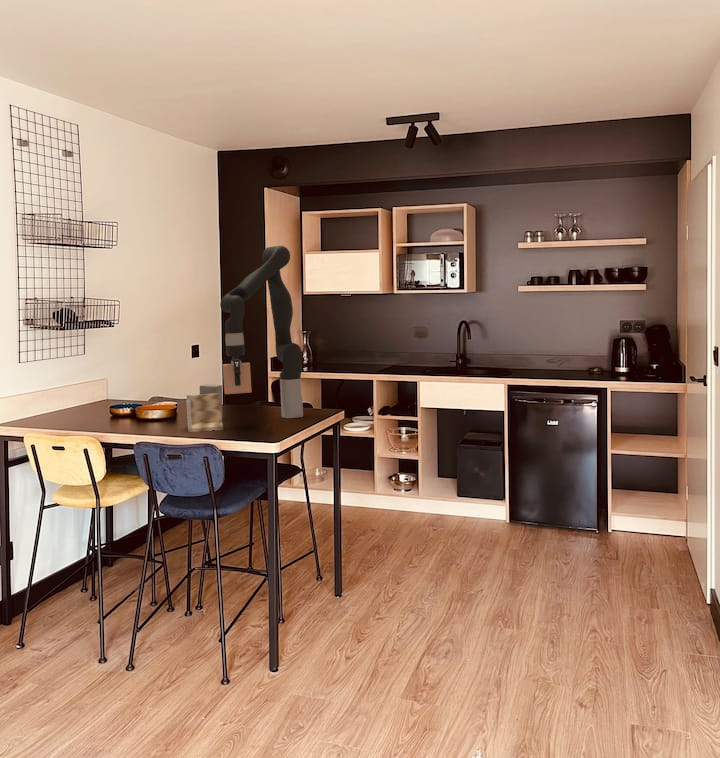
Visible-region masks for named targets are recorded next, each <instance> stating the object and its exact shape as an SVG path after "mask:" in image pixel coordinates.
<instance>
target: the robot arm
mask: <svg viewBox="0 0 720 758" xmlns="http://www.w3.org/2000/svg"><path fill="white" fill-rule="evenodd" d="M290 260H291V253H290V250H289V249H288V248H287V247H286V246H284V245H276V246H275V245H274V246H268V247H266V248H265V249H264V250H263V253H262V263H263V264H262V265H261V266H260V267H259V268H257V269H256V270H254V271H253V272H251V273H250V274H248V275H247V276H246V277H245V278H244V279H243V280H242V281H240V283H239V284H238V285H237V286H236V287H235V288H232V290H230V291H229V292H227V293H226V294H225V295H224V296H223V297H222V298H221V301H220V308H221V310H222V311H223V312H225V313H228V314H229V318H227V319H226V320H225V322H224V323H225V325H224V326H225V327H224V329H225V352H226V356H227V357H232V359H231V360H230V362H231V363H230V364H232V367H233V371H234V377H235V385H236V386H239V385H241V383H240V375H241V373H240V371H241V363H242V360H241V359H240V356H244V355H245V354H246V353H245V352H246V351H245V339H244V338H245V337H244V331H243V329H244V328H243V320H244V315H245V309H246V308H245V307H246V305H245V301H247V300H249V299H250V298H251V297H252V296H253V295H254V294H255V293H256V292H257V291H258V290H259V289H260V288H261V287H262V286H263V285H264V284H265V283H267V286H268V292H269V299H270V305H271V306H270V308H271V314H272V315H271V316H272V322H273V328H274V336H275V341H274V342H275V355H276V358H277V359H278V360H279V361H280V362H281V363H282V370H281V371H280V372H279V387H280V388H279V389H280V405H281V406H280V407H281V408H280V409H281V410H280V411H281V412H280V413H281V418H284V419H296V418H297V419H298V418H303V417H304V407H303V406H304V405H303V402H304V401H303V395H302V379H301V378H302V377H301V376H302V373H303V352H302V348H301V347H300V345H299V344H297V343H295V342H292V341H293V340H292V336H291V326H292V320H293V315H294V314H293V313H294V310H293V303H292V302H293V301H292V296H291V294H290V292H289V290H288V288H287V287H286V285H285V283H284V281H283V279H282V276H281V275H282V274H281V270H282V269H283V268H284V267H286V266H287V265H288V264H289V262H290ZM236 371H239V372H238V373H236Z"/></svg>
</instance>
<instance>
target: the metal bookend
mask: <svg viewBox="0 0 720 758" xmlns="http://www.w3.org/2000/svg"><path fill="white" fill-rule="evenodd" d="M185 401H186V413H187V414H186V416H187V417H186V418H187V430H188V429H192V415H191V398H187V397H186V400H185Z"/></svg>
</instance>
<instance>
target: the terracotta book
mask: <svg viewBox="0 0 720 758" xmlns="http://www.w3.org/2000/svg"><path fill="white" fill-rule="evenodd" d="M238 372H239V371H236V373H238ZM222 373H223V391H224V395H232V394H233V395H234V394H235V395H236V394H246V393H247V394H248V393H252V377H251V375H252V374H251V363H250V362H241V371H240V373H241V375H240V383H241V385H239V386H236V385H235V377H234V371H233V367H232V364H231V363H224V364H222Z"/></svg>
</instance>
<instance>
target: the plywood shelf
mask: <svg viewBox="0 0 720 758" xmlns="http://www.w3.org/2000/svg"><path fill="white" fill-rule="evenodd" d="M187 398H191V415H192V429H188V428H187V433H199V432H211V431H212V430H215V431H224V425H223V411H222V412H221V395H220V393H218V394H201V395H200V394H187V395H186V399H187ZM212 432H213V431H212Z"/></svg>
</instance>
